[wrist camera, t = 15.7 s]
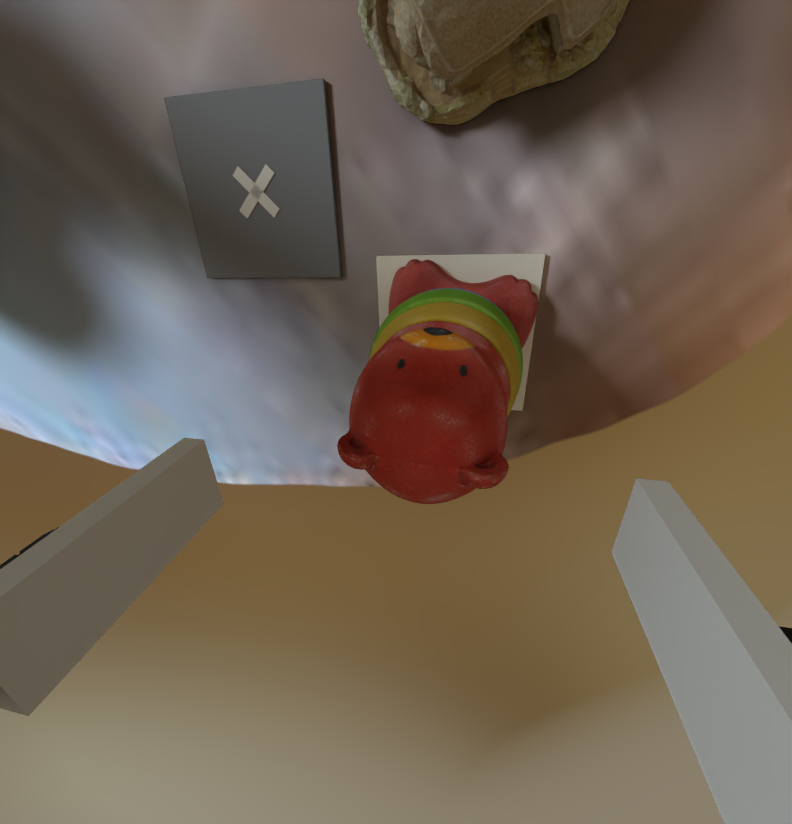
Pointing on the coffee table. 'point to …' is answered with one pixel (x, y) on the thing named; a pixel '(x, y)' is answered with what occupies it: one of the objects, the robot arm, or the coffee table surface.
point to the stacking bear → (440, 384)
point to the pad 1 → (260, 179)
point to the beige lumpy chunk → (481, 48)
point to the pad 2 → (470, 271)
